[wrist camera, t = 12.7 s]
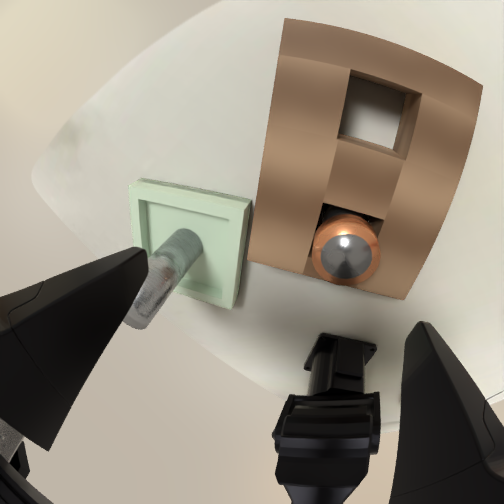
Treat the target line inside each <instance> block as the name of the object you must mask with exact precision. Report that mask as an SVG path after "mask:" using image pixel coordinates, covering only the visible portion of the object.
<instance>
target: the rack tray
mask: <svg viewBox="0 0 504 504" xmlns="http://www.w3.org/2000/svg"><path fill="white" fill-rule="evenodd" d="M128 191H129V205H130V217H131V228H132V237H133V246H136V247H140V248H143V249H145V250H146V251H147V257H148V258H149V257H150V256H151V255H152V254H153V253H154V252H155V251H156V250H157V249H158V248H159V247H160V246H161V245H162V244H163V243H164V242H165V241H166V240H167V239H168V238H169V237H170V236H171V235H172V234H173V233H174V232H175V231H176V230H178V229H180V228H186V229H190V230H192V231H193V232H195V233H196V234H197V235H198V236H199V238H200V239H201V241H202V245H203V250H202V253H201V254H200V256H199V257H198V258H197V260H196V261H195V262H194V263H193V265H192V266H191V267H190V269H189V270H188V271H187V273H186V274H185V275H184V277H183V278H182V279H181V281H180V282H179V283H178V285H177V286H176V287H175V289H174V290H173V292H176V293H179V294H182V295H185V296H188V297H191V298H194V299H197V300H200V301H203V302H207V303H210V304H213V305H216V306H220V307H223V308H226V309H230V310H232V308H233V306H234V303H235V301H236V299H237V297H238V291H239V284H240V277H241V270H242V263H243V255H244V248H245V241H246V234H247V227H248V220H249V213H250V207H251V200H250V199H246V198H241V197H237V196H232V195H228V194H223V193H218V192H213V191H208V190H203V189H198V188H193V187H188V186H183V185H178V184H172V183H167V182H161V181H156V180H150V179H144V178H141V179H139V180H138V181H136V182H134V183H132V184H131V185H129V186H128Z"/></svg>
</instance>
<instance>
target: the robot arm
mask: <svg viewBox="0 0 504 504" xmlns="http://www.w3.org/2000/svg"><path fill="white" fill-rule="evenodd" d="M148 273H149V266H148V257H147V251H146V250H145V249H143V248H140V247H136V246H134V247H131V248H129V249H126V250H123V251H120V252H117V253H115V254H112V255H109V256H106V257H104V258H101V259H98V260H96V261H93V262H90V263H88V264H85V265H82V266H80V267H77V268H75V269H72V270H69V271H67V272H64V273H62V274H59V275H57V276H54V277H52V278H49V279H47V280H45V281H42V282H39V283H37V284H35V285H32V286H29V287H27V288H25V289H22V290H19V291H16V292H13V293H10V294H8V295H5V296H2V297H0V504H53V503H52V502H51V501H50V500H49V499H47V498H46V497H45V496H44V495H42V494H41V493H40V492H39V491H38V490H37V489H35V488H34V487H33V486H32V485H31V484H30V483H29V482H28V481H27V480H26V477H27V476H28V474H29V472H30V469H29V464H28V460H27V455H26V450H25V445H24V442H23V441H22V440H23V438H24V437H26V438H28V439H29V440H31V441H32V442H34V443H35V444H37V445H39V446H40V447H41V448H43V449H45V450H46V451H49V450H50V448H51V446H52V444H53V442H54V440H55V438H56V436H57V434H58V432H59V430H60V428H61V426H62V424H63V422H64V420H65V418H66V416H67V415H68V413H69V411H70V409H71V406H72V405H73V403H74V401H75V399H76V397H77V396H78V394H79V392H80V390H81V388H82V387H83V385H84V383H85V381H86V380H87V378H88V376H89V375H90V373H91V371H92V369H93V368H94V366H95V364H96V363H97V361H98V359H99V357H100V356H101V354H102V353H103V351H104V349H105V348H106V346H107V344H108V343H109V341H110V340H111V338H112V337H113V335H114V333H115V332H116V330H117V329H118V327H119V326H120V324H121V322H122V321H123V319H124V318H125V316H126V315H127V313H128V312H129V310H130V308H131V306H132V304H133V302H134V300H135V298H136V297H137V295H138V293H139V291H140V289H141V287H142V285H143V283H144V281H145V280H146V278H147V276H148ZM376 350H377V346H376V345H375V344H371V343H366V342H361V341H357V340H352V339H347V338H343V337H338V336H334V335H330V334H325V333H322V334H320V335H319V336H318V338H317V340H316V342H315V344H314V346H313V348H312V350H311V352H310V354H309V356H308V358H307V360H306V362H305V364H304V369H305V370H307V371H311V376H310V382H309V388H308V394H307V396H303V395H295V394H289V397H288V399H287V401H286V402H285V405H284V407H283V410H282V412H281V415H280V417H279V420H278V422H277V425H276V427H275V429H274V431H273V432H272V438H273V439H274V440H275V450H276V452H277V453H279V455H278V462H277V467H276V471H275V476H276V479H277V481H278V483H279V484H280V485H284V487H285V489H286V491H287V493H288V495H289V497H290V499H291V501H292V503H291V504H343V502H344V501H345V500H346V499H347V498H348V497H349V496H350V494H351V493H352V492H353V491H354V490H355V489H356V487H358V485H359V484H360V483H361V481H362V480H363V479H364V478H365V476H366V475H367V473H368V467H369V459H370V455H374V454H377V453H378V449H379V442H380V429H381V418H380V395H379V392H374V393H368V394H365V365H366V364H367V363H368V361H369V360H370V359H371V357H372V356H373V355H374V353H375V352H376ZM390 497H391V498H390V500H389V504H504V426H503V425H502V423H501V422H500V421H499V419H498V418H497V416H496V414H495V413H494V411H493V410H492V408H491V407H490V405H489V403H488V402H487V400H485V397H484V396H483V394H482V393H481V391H480V390H479V388H478V387H477V385H476V384H475V382H474V381H473V379H472V378H471V376H470V375H469V374H468V372H467V371H466V369H465V368H464V366H463V365H462V364H461V362H460V361H459V360H458V358H457V357H456V356H455V354H454V353H453V352H452V350H451V349H450V348H449V346H448V345H447V344H446V342H445V341H444V340H443V338H442V337H441V336H440V335H439V333H438V332H437V331H436V330H435V328H434V327H433V326H432V325H431V324H430V323H428V322H424V321H419V322H418V323H417V324H416V325H415V327H414V328H413V330H412V331H411V332H410V334H409V335H408V337H407V338H406V341H405V349H404V363H403V374H402V385H401V414H400V429H399V441H398V451H397V459H396V466H395V473H394V479H393V486H392V491H391V496H390Z"/></svg>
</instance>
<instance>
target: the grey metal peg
mask: <svg viewBox="0 0 504 504" xmlns="http://www.w3.org/2000/svg"><path fill="white" fill-rule="evenodd" d="M202 250H203V245H202V241H201V239H200V238H199V236H198V235H197V234H196V233H195V232H193V231H192V230H190V229H186V228H180V229H178V230H176V231H175V232H174V233H173V234H172V235H171V236H170V237H169V238H168V239H167V240H166V241H165V242H164V243H163V244H162V245H161V246H160V247H159V248H158V249H157V250H156V251H155V252H154V253H153V254H152V255H151V256H150V257H149V258H148V266H149V273H148V276H147V278H146V280H145V281H144V283H143V285H142V287H141V289H140V291H139V293H138V295H137V297H136V298H135V300H134V302H133V304H132V306H131V308H130V310H129V312H128V313H127V315H126V316H125V318H124V319H123V322H125V323H126V324H127V325H129V326H131V327H133V328H135V329H145V328H146V327H147V326H148V325H149V323H150V322H151V320H152V319H153V318H154V316H155V315H156V313H157V312H158V311H159V309H160V308H161V307H162V305H163V304H164V302H165V301H166V300H167V298H168V297H169V296H170V294H171V293H172V292H173V290H174V289H175V287H176V286H177V285H178V283H179V282H180V281H181V279H182V278H183V277H184V275H185V274H186V273H187V271H188V270H189V269H190V267H191V266H192V265H193V263H194V262H195V261H196V260H197V258H198V257H199V256H200V254H201V253H202Z"/></svg>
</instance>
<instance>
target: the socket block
mask: <svg viewBox="0 0 504 504" xmlns="http://www.w3.org/2000/svg"><path fill="white" fill-rule="evenodd" d="M349 75H350V76H353V77H357V78H360V79H364V80H367V81H370V82H374V83H377V84H380V85H383V86H386V87H389V88H392V89H394V90H397V91H400V92H403V93H405V94H406V96H405V101H404V105H403V110H402V115H401V119H400V123H399V127H398V131H397V135H396V139H395V143H394V147H393V150H392V149H389V148H386V147H383V146H380V145H377V144H374V143H371V142H368V141H364V140H361V139H358V138H354V137H351V136H347V135H344V134H340V133H338V130H339V126H340V121H341V116H342V112H343V107H344V102H345V97H346V92H347V86H348V81H349ZM482 89H483V85H481V84H479V83H478V82H476V81H474V80H473V79H471V78H469V77H467V76H466V75H464V74H462V73H460V72H458V71H457V70H455V69H453V68H451V67H449V66H447V65H445V64H443V63H441V62H439V61H436V60H434V59H432V58H430V57H428V56H425V55H423V54H421V53H418V52H416V51H414V50H411V49H408V48H406V47H403V46H401V45H398V44H395V43H392V42H389V41H386V40H383V39H380V38H377V37H374V36H371V35H367V34H364V33H360V32H356V31H353V30H349V29H344V28H340V27H336V26H331V25H326V24H321V23H315V22H310V21H303V20H296V19H288V18H285V19H284V25H283V32H282V38H281V44H280V50H279V56H278V63H277V69H276V75H275V82H274V88H273V94H272V100H271V107H270V113H269V120H268V126H267V132H266V139H265V145H264V152H263V158H262V164H261V171H260V177H259V184H258V190H257V197H256V203H255V210H254V216H253V223H252V230H251V236H250V243H249V249H248V256H247V260H249V261H253V262H256V263H260V264H264V265H268V266H272V267H275V268H279V269H283V270H287V271H291V272H294V273H298V274H302V275H306V276H310V277H314V278H318V279H322V280H325V279H324V278H322V277H321V276H320V275H319V274H318V273H317V271H316V270H315V268H314V265H313V262H312V249H313V241H314V236H315V230H316V226H317V222H318V219H319V215H320V212H321V208H322V204H323V202H324V203H328V204H331V205H335V206H339V207H342V208H346V209H349V210H353V211H356V212H360V213H363V214H367V215H370V216H371V217H370V220H369V222H368V223H369V224H370V225H371V226H372V227H373V229H374V231H375V233H376V236H377V240H378V244H379V247H380V253H381V257H380V262H379V265H378V267H377V269H376V271H375V272H374V273H373V274H372V275H371V276H370V277H369V278H368V279H366V280H365V281H363V282H361V283H358V284H355V285H348V286H349V287H353V288H357V289H361V290H365V291H369V292H373V293H376V294H380V295H384V296H388V297H392V298H396V299H400V300H404V299H405V297H406V296H407V294H408V292H409V291H410V289H411V287H412V285H413V283H414V282H415V280H416V278H417V276H418V274H419V272H420V270H421V268H422V267H423V265H424V263H425V261H426V259H427V257H428V255H429V253H430V251H431V249H432V246H433V244H434V242H435V240H436V238H437V236H438V233H439V231H440V229H441V227H442V224H443V222H444V220H445V217H446V215H447V212H448V210H449V207H450V205H451V202H452V200H453V197H454V194H455V192H456V189H457V186H458V183H459V180H460V178H461V175H462V172H463V168H464V165H465V162H466V159H467V155H468V152H469V148H470V145H471V141H472V137H473V133H474V129H475V125H476V121H477V116H478V111H479V106H480V101H481V95H482ZM325 281H327V280H325Z"/></svg>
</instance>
